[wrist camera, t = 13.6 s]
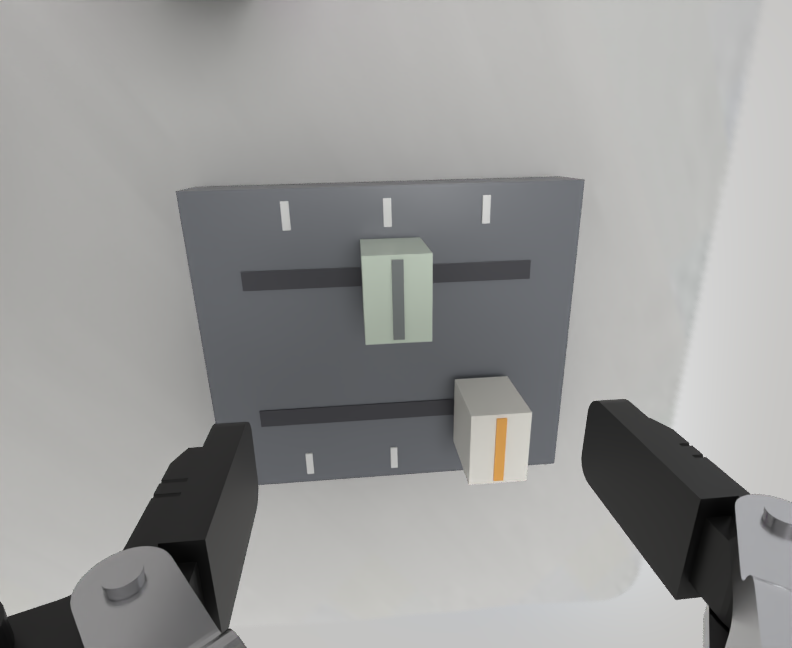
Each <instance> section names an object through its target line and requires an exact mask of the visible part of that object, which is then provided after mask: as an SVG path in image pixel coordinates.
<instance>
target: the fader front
mask: <svg viewBox="0 0 792 648" xmlns="http://www.w3.org/2000/svg"><path fill="white" fill-rule="evenodd" d="M360 252H361V273H362V295H363V316H364V330H365V344H366V345H374V344H393V343H411V342H430V341H432V307H433V253H432V252H431V250H430V249H429V248H428V247H427V245H426V244H425V243H424V242H423V240H422V239H421V238H420V237H412V238H385V239H360Z"/></svg>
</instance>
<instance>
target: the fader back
mask: <svg viewBox="0 0 792 648" xmlns="http://www.w3.org/2000/svg"><path fill="white" fill-rule="evenodd" d="M531 421H532V411H531V410H530V408H529V407H528V406H527V404H526V403H525V401H524V400H523V398H522V397H521V395H520V394H519V392H518V391H517V390H516V388H515V387H514V385H513V384H512V382H511V381H510V379H509V378H508V376H502V377H485V378H468V379H455V390H454V435H453V441H454V444H455V447H456V450H457V452H458V455H459V458H460V461H461V464H462V467H463V470H464V472H465V475H466V478H467V481H468V484H469V485H476V484H489V483H503V482H516V481H526V480H527V468H528V456H529V445H530V433H531Z"/></svg>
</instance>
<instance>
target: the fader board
mask: <svg viewBox="0 0 792 648" xmlns="http://www.w3.org/2000/svg"><path fill="white" fill-rule="evenodd" d="M583 190H584V180H583V179H575V178H568V177H528V178H493V179H457V180H422V181H386V182H351V183H316V184H280V185H245V186H210V187H193V188H188V189H184V190H180V191H176V195H177V201H178V207H179V213H180V218H181V224H182V230H183V236H184V242H185V247H186V253H187V259H188V265H189V271H190V276H191V282H192V288H193V294H194V300H195V305H196V311H197V317H198V323H199V329H200V334H201V340H202V346H203V352H204V358H205V363H206V369H207V375H208V381H209V387H210V392H211V398H212V404H213V410H214V416H215V421H216V424H217V423H234V422H249V423H250V425H251V429H252V437H253V445H254V453H255V461H256V469H257V477H258V485H265V484H278V483H292V482H306V481H319V480H333V479H346V478H360V477H374V476H387V475H401V474H415V473H428V472H442V471H456V470H463V467H462V464H461V461H460V458H459V455H458V452H457V450H456V447H455V444H454V441H453V435H454V390H455V379H468V378H485V377H502V376H508V378H509V379H510V381H511V382H512V384H513V385H514V387H515V388H516V390H517V391H518V392H519V394H520V395H521V397H522V398H523V400H524V401H525V403H526V404H527V406H528V407H529V408H530V410H531V411H532V421H531V433H530V445H529V456H528V465H538V464H551V463H554V459H555V450H556V441H557V431H558V422H559V413H560V404H561V394H562V385H563V376H564V366H565V357H566V348H567V338H568V329H569V320H570V311H571V301H572V292H573V283H574V273H575V264H576V255H577V246H578V236H579V227H580V218H581V208H582V199H583ZM412 237H420V238H421V239H422V240H423V242H424V243H425V244H426V245H427V247H428V248H429V249H430V250H431V252H432V253H433V307H432V341H430V342H411V343H393V344H374V345H366V344H365V330H364V316H363V295H362V273H361V252H360V239H385V238H412Z"/></svg>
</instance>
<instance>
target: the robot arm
mask: <svg viewBox="0 0 792 648" xmlns="http://www.w3.org/2000/svg"><path fill="white" fill-rule="evenodd" d="M582 469H583V473H584V476H585V478H586V480H587V482H588V484H589V485H590V486H591V488H592V489H593V490H594V492H595V493H596V494H597V496H598V497H599V498H600V500H601V501H602V502H603V504H604V505H605V506H606V508H607V509H608V510H609V512H610V513H611V514H612V516H613V517H614V518H615V520H616V521H617V522H618V524H619V525H620V526H621V528H622V529H623V530H624V532H625V533H626V534H627V536H628V537H629V538H630V540H631V541H632V542H633V544H634V545H635V546H636V548H637V549H638V550H639V552H640V553H641V555H642V556H643V557H644V559H645V560H646V561H647V562H648V564H649V565H650V566H651V568H652V569H653V571H654V572H655V573H656V575H657V576H658V577H659V578H660V580H661V581H662V582H663V584H664V585H665V587H666V588H667V589H668V591H669V592H670V593H671V595H672V596H673V597H674V598H675V599H676V600H679V599H687V598H697V597H702V598H703V599H704V601H705V602H706V603H707V606H706V609H705V613H704V618H703V648H792V502H789V501H787V500H784V499H781V498H777V497H773V496H768V495H761V494H750V493H748V492H747V491H746V490H745V489H744V488H742V487H741V486H740V485H739V484H738V483H736V482H735V481H734V480H733V479H731V478H730V477H729V476H728V475H727V474H726V473H724V472H723V471H722V470H721V469H720V468H718V467H717V466H716V465H715V464H714V463H712V462H711V461H710V460H709V459H708V458H706V457H703V455H702V454H701V453H700V452H699V451H698V450H697V449H695V448H694V447H693V446H689V443H688V442H687V441H686V440H685V439H684V438H682V437H681V436H680V435H679V434H677V433H676V432H675V431H674V430H673V429H671V428H669V427H667V426H665V425H663V424H661V423H659V422H657V421H655V420H653V419H651V418H648V417H647V416H646V415H645V414H643V413H642V412H641V411H640V410H639V409H638V408H637V407H635V406H634V405H633V404H632V403H631V402H629V401H628V400H626V399H617V400H601V401H593V402H592V403H591V404H590V406H589V409H588V415H587V422H586V429H585V436H584V443H583V450H582ZM161 481H162V482H161V483H160V484H159V486H158V487H157V489H156V491H155V493H154V497H153V498H151V500H150V502H149V504H148V506H147V507H146V509H145V511H144V513H143V515H142V517H141V518H140V520H139V522H138V524H137V526H136V528H135V529H134V531H133V533H132V535H131V537H130V539H129V540H128V542H127V544H126V546H125V548H124V549H123V551H120V552H118V553H116V554H113V555H111V556H109V557H107V558H106V559H104V560H102V561H101V562H99V563H98V564H96V565H95V566H94V567H93V568H91V569H90V570H89V571H88V572H87V573H86V574H85V575H84V576H83V577H82V578H81V579H80V581H79V582H78V583H77V585H76V587H75V588H74V590H73V593H72V595H70V596H68V597H65V598H63V599H60V600H57V601H54V602H51V603H48V604H45V605H42V606H39V607H36V608H33V609H30V610H27V611H24V612H21V613H18V614H15V615H12V616H9V617H7V615H6V612H5V609H4V607H3V605H2V603H1V602H0V648H246V646H245V645H244V643H243V642H242V640H241V639H240V637H239V636H238V635H237V634H236V633H235V632H234V631H233V630H232V629H228V628H229V624H230V620H231V615H232V611H233V607H234V603H235V598H236V594H237V590H238V586H239V581H240V577H241V573H242V569H243V564H244V560H245V556H246V552H247V547H248V543H249V539H250V535H251V530H252V526H253V522H254V518H255V513H256V509H257V503H258V477H257V469H256V461H255V453H254V445H253V437H252V429H251V425H250V423H249V422H234V423H217V424H214V425H213V426H212V428H211V430H210V432H209V435H208V437H207V439H206V441H205V443H204V445H203V447H195V448H188V449H187V450H186V451H184V452H183V453H182V454H181V455H180V456H179V457H177V458H176V459H175V460H174V461H173V462H171V464H170V465H169V467H168V469H167V471H166V473H165V475H164V476H163V478H162V480H161Z"/></svg>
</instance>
